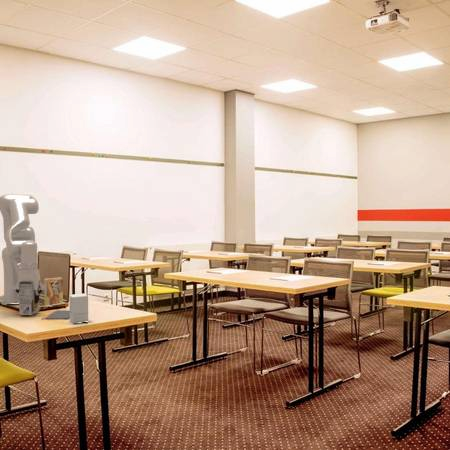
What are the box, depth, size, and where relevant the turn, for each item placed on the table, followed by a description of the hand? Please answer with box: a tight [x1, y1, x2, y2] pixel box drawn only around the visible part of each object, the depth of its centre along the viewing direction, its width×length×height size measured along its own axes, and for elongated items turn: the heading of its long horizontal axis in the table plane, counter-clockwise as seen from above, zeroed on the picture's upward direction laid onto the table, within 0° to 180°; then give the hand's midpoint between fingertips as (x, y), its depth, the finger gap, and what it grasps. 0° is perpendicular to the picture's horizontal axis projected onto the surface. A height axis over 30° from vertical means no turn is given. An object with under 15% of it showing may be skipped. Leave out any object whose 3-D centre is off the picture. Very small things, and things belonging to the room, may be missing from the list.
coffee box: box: [18, 282, 40, 316], centre depth 253 cm, size 9×6×16 cm
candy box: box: [43, 277, 64, 306], centre depth 274 cm, size 9×4×15 cm, turn 129°
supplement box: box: [68, 293, 89, 324], centre depth 239 cm, size 7×7×13 cm
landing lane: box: [41, 309, 70, 320], centre depth 253 cm, size 13×18×1 cm
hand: (29, 302), depth 253 cm, fingers closed on coffee box, 6 cm apart
